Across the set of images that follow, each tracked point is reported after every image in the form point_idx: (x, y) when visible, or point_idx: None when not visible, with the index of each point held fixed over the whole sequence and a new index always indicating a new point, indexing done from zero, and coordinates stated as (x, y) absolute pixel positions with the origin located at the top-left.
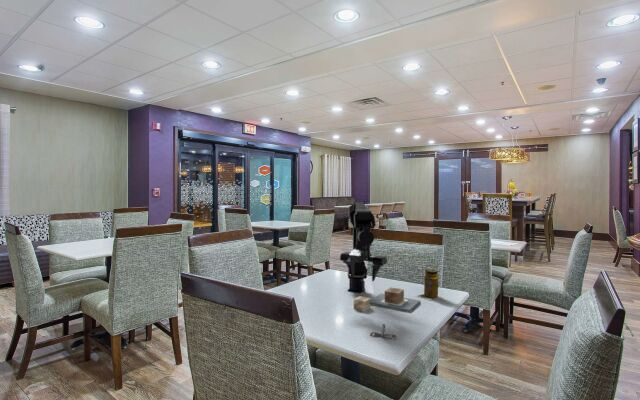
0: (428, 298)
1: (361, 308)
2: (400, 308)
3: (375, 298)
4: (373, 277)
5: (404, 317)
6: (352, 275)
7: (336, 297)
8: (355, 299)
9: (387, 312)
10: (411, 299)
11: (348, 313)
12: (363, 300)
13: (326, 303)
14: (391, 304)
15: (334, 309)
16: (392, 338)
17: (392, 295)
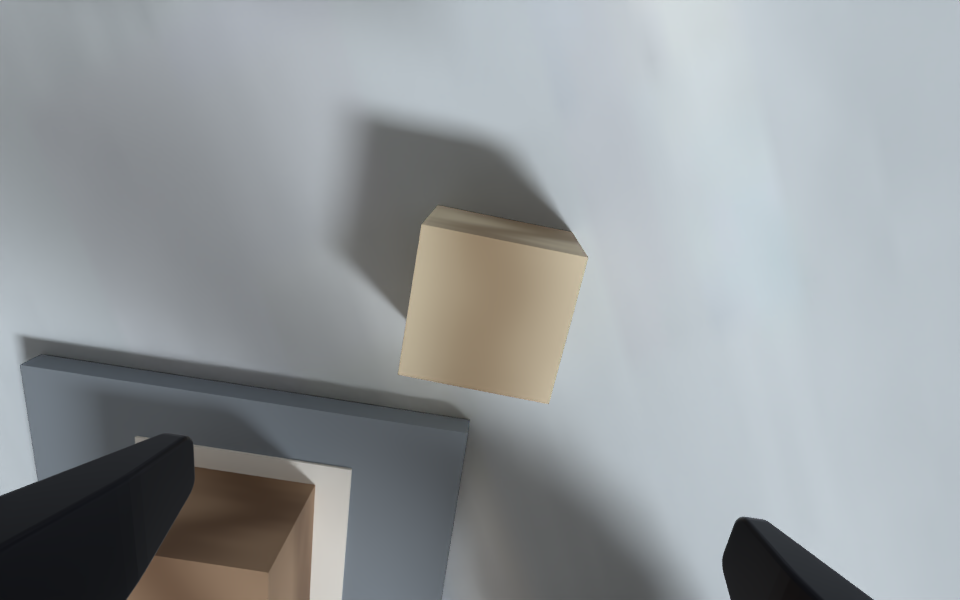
0: None
1: (472, 214)
2: (116, 376)
3: (430, 544)
4: (68, 477)
5: (18, 199)
6: (774, 561)
7: (837, 482)
8: (561, 256)
9: (214, 267)
10: None
11: (581, 43)
12: (449, 260)
13: (918, 262)
14: (229, 441)
15: (780, 103)
16: None
17: (186, 531)
